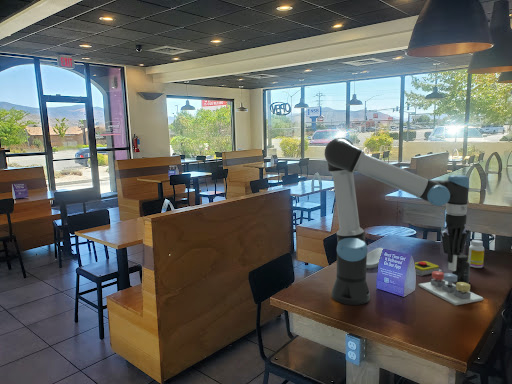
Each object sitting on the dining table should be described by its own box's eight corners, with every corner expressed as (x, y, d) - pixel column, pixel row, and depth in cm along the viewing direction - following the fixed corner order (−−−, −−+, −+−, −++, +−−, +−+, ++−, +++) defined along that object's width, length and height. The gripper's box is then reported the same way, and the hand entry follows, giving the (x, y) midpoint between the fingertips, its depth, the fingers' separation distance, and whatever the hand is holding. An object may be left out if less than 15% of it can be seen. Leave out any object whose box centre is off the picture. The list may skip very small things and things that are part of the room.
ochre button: (462, 297, 150) (463, 287, 149) (452, 292, 155) (453, 283, 154) (472, 295, 152) (473, 285, 151) (462, 290, 156) (463, 281, 156)
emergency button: (405, 261, 186) (428, 257, 192) (404, 270, 187) (427, 266, 193) (420, 267, 178) (443, 263, 184) (419, 276, 179) (443, 272, 185)
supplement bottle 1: (466, 279, 174) (468, 254, 172) (470, 285, 167) (472, 258, 165) (450, 278, 176) (451, 252, 174) (453, 283, 169) (455, 257, 167)
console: (455, 305, 148) (455, 298, 148) (418, 286, 167) (419, 279, 166) (483, 300, 152) (483, 293, 152) (444, 281, 171) (444, 275, 171)
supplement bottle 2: (485, 268, 187) (488, 243, 185) (472, 268, 187) (474, 243, 185) (478, 263, 194) (480, 239, 192) (465, 263, 194) (466, 239, 192)
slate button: (449, 287, 156) (450, 278, 155) (440, 283, 161) (441, 274, 160) (459, 286, 157) (460, 276, 157) (450, 281, 162) (450, 272, 162)
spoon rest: (371, 272, 184) (372, 258, 183) (350, 266, 193) (351, 252, 191) (396, 261, 199) (397, 248, 198) (376, 256, 208) (377, 243, 207)
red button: (437, 285, 162) (438, 276, 162) (428, 280, 167) (429, 272, 166) (447, 283, 164) (447, 274, 163) (438, 279, 168) (438, 270, 168)
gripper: (450, 216, 148) (446, 274, 152) (476, 214, 152) (472, 271, 156) (435, 213, 155) (432, 268, 159) (461, 210, 159) (457, 265, 163)
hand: (451, 269), depth 157 cm, fingers closed
